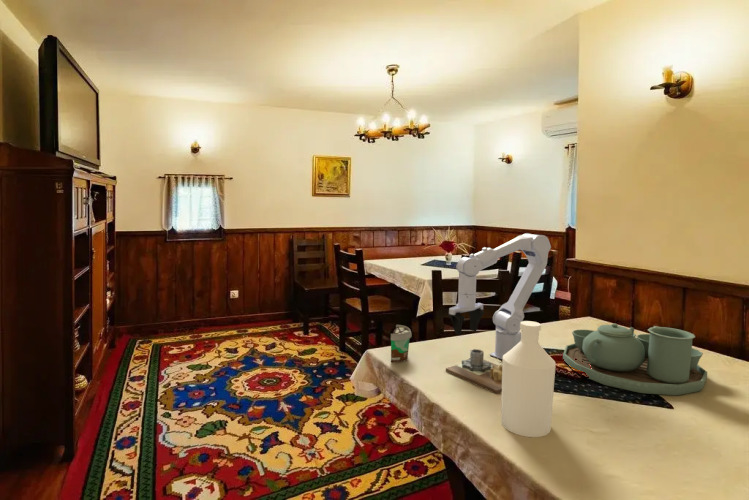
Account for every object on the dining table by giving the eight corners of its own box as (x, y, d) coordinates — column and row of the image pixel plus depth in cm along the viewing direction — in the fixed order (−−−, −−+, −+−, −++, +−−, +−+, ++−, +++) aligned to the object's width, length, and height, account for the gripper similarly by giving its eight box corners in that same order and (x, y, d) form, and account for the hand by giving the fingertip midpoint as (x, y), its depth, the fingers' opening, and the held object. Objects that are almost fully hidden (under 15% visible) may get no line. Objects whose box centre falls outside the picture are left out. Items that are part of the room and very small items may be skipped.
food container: (408, 365, 143) (409, 335, 142) (390, 363, 144) (390, 334, 143) (413, 352, 155) (413, 325, 154) (395, 351, 156) (396, 324, 155)
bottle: (523, 442, 98) (529, 333, 95) (489, 418, 108) (493, 319, 106) (563, 431, 102) (569, 327, 100) (526, 409, 113) (531, 315, 110)
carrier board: (479, 361, 148) (480, 348, 147) (531, 380, 131) (532, 366, 131) (445, 371, 138) (446, 357, 138) (496, 394, 122) (497, 378, 122)
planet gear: (475, 359, 146) (475, 344, 145) (497, 367, 139) (498, 352, 138) (455, 365, 141) (456, 350, 140) (477, 374, 133) (478, 358, 133)
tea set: (711, 369, 143) (716, 320, 141) (695, 411, 114) (700, 349, 112) (583, 342, 170) (586, 301, 168) (543, 370, 140) (546, 320, 139)
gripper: (472, 288, 154) (471, 326, 155) (443, 293, 146) (441, 333, 147) (488, 292, 148) (487, 331, 150) (458, 297, 140) (457, 338, 141)
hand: (465, 332), depth 148 cm, fingers open, 7 cm apart
